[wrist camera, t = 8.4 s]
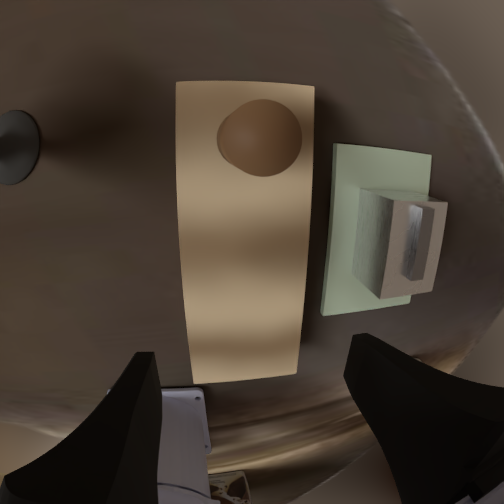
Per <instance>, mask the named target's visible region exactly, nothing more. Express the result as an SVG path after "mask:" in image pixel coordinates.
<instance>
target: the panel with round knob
mask: <svg viewBox="0 0 504 504" xmlns="http://www.w3.org/2000/svg"><path fill="white" fill-rule="evenodd" d="M313 144H314V86H306V85H296V84H284V83H270V82H251V81H185V82H176V182H177V208H178V227H179V244H180V258H181V271H182V284H183V295H184V305H185V315H186V325H187V334H188V342H189V351H190V359H191V366H192V374H193V381H194V384H201V383H216V382H228V381H239V380H249V379H258V378H266V377H274V376H282V375H289V374H296V371H297V363H298V354H299V346H300V337H301V327H302V317H303V307H304V296H305V285H306V273H307V260H308V247H309V232H310V215H311V197H312V174H313Z"/></svg>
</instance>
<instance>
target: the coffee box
mask: <svg viewBox="0 0 504 504" xmlns="http://www.w3.org/2000/svg"><path fill="white" fill-rule="evenodd" d="M208 479H209V487H210V495H211V499H212V500H219V501H220V504H252V499H251V494H250V490H249V486H248V483H247V480H246V476H245V474H244V471H235V472H229V473H221V474H214V475H208Z"/></svg>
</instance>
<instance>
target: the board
mask: <svg viewBox="0 0 504 504" xmlns="http://www.w3.org/2000/svg"><path fill="white" fill-rule="evenodd" d="M431 156H432V155H427V154H421V153H415V152H408V151H401V150H394V149H386V148H378V147H369V146H359V145H349V144H337V143H333V163H332V183H331V201H330V215H329V229H328V241H327V252H326V263H325V273H324V282H323V291H322V300H321V308H320V313H321V314H322V316H327V315H335V314H343V313H350V312H357V311H364V310H371V309H377V308H384V307H390V306H396V305H402V304H408V303H410V298H411V295H407V296H400V297H394V298H388V299H381V300H380V299H378V298H377V297H376V296H375V295H374V294H373V293H372V292H371V291H370V290H369V289H368V288H366V287H365V286H364V285H363V284H362V283H361V282H360V281H359V280H358V279H357V278H355V277H354V276H353V275H352V274H351V272H352V264H353V256H354V247H355V238H356V228H357V217H358V205H359V192H360V188H364V189H389V190H409V191H414V192H417V193H420V194H423V195H427V196H428V192H429V182H430V170H431Z"/></svg>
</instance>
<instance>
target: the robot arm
mask: <svg viewBox="0 0 504 504" xmlns="http://www.w3.org/2000/svg"><path fill="white" fill-rule="evenodd" d="M343 376H344V379H345V381H346V384H347V387H348V389H349V391H350V394H351V396H352V398H353V399H354V401H355V403H356V405H357V406H358V408H359V410H360V411H361V413H362V415H363V416H364V418H365V420H366V421H367V423H368V425H369V426H370V428H371V429H372V431H373V433H374V434H375V436H376V438H377V440H378V442H379V443H380V445H381V447H382V450H383V452H384V454H385V457H386V459H387V461H388V464H389V466H390V469H391V472H392V474H393V477H394V480H395V482H396V486H397V489H398V492H399V495H400V498H401V502H402V504H504V388H502V387H496V386H490V385H485V384H480V383H476V382H472V381H468V380H464V379H462V378H458V377H456V376H453V375H450V374H448V373H445V372H442V371H440V370H437V369H435V368H433V367H431V366H429V365H427V364H425V363H422V362H420V361H418V360H416V359H415V358H413V357H411V356H409V355H407V354H405V353H403V352H402V351H400V350H398V349H396V348H394V347H393V346H391V345H389V344H387V343H385V342H384V341H382V340H380V339H378V338H376V337H374V336H372V335H370V334H368V333H362V334H356V335H353V337H352V341H351V346H350V350H349V354H348V358H347V363H346V367H345V371H344V375H343ZM196 397H199V398H196ZM211 451H212V450H211V443H210V437H209V430H208V423H207V416H206V408H205V401H204V393H203V390H202V389H201V388H197V387H196V388H175V389H161V386H160V381H159V376H158V370H157V365H156V360H155V354H154V352H136V353H135V354H134V356H133V357H132V359H131V361H130V362H129V364H128V365H127V367H126V368H125V370H124V371H123V373H122V374H121V376H120V377H119V379H118V380H117V381H116V383H115V384H114V386H113V387H112V388H111V389H109V390H108V392H107V395H106V396H105V397H104V399H103V400H102V401H101V402H100V403H99V405H98V406H97V407H96V408H95V409H94V411H93V412H92V413H91V414H90V415H89V416H88V417H87V418H86V419H85V420H84V421H83V422H82V423H81V424H80V425H79V426H78V427H77V428H76V429H75V430H74V431H73V432H72V433H71V434H69V435H68V436H67V437H66V438H65V439H64V440H62V441H61V442H60V443H59V444H58V445H57V446H55V447H54V448H52V449H51V450H49V451H48V452H47V453H45V454H43V455H42V456H40V457H39V458H37V459H36V460H34V461H32V462H31V463H29V464H27V465H25V466H23V467H21V468H19V469H17V470H15V471H13V472H11V473H9V474H7V475H5V476H4V479H3V481H2V484H1V487H0V504H220V501H219V500H212V499H211V495H210V487H209V479H208V470H207V462H206V454H209V453H211Z"/></svg>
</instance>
